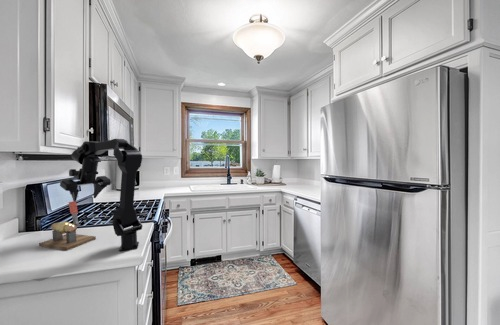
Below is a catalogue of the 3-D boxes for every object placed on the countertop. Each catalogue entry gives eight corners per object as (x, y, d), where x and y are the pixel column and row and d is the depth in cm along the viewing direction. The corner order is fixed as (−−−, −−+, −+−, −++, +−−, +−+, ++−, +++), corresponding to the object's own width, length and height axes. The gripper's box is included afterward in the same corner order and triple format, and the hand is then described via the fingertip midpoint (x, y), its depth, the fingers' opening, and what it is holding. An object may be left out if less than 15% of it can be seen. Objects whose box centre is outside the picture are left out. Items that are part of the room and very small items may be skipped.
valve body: (83, 238, 99) (82, 220, 98) (67, 244, 93) (66, 224, 92) (65, 236, 102) (64, 218, 101) (48, 242, 96) (47, 222, 95)
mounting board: (95, 239, 101) (95, 236, 101) (67, 250, 90) (67, 247, 90) (69, 235, 106) (69, 233, 106) (39, 246, 95) (39, 243, 94)
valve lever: (79, 225, 101) (76, 201, 101) (76, 226, 100) (72, 201, 100) (76, 225, 102) (72, 201, 102) (72, 227, 101) (68, 202, 100)
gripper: (100, 161, 114) (96, 189, 118) (55, 163, 98) (51, 196, 101) (114, 169, 110) (108, 198, 113) (69, 172, 93) (64, 206, 97)
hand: (84, 199), depth 106 cm, fingers open, 8 cm apart
